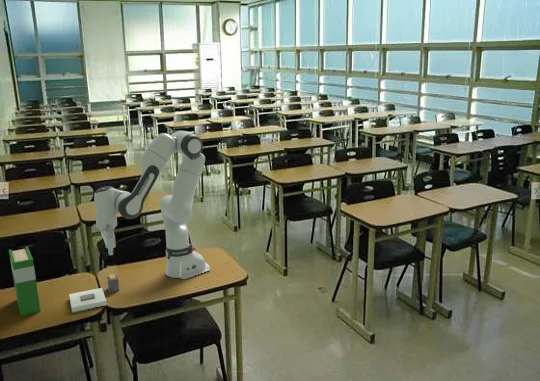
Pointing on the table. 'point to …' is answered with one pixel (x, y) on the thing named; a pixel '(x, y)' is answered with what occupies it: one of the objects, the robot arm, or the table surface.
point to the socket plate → (87, 300)
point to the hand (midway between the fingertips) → (109, 251)
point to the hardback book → (24, 281)
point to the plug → (112, 283)
